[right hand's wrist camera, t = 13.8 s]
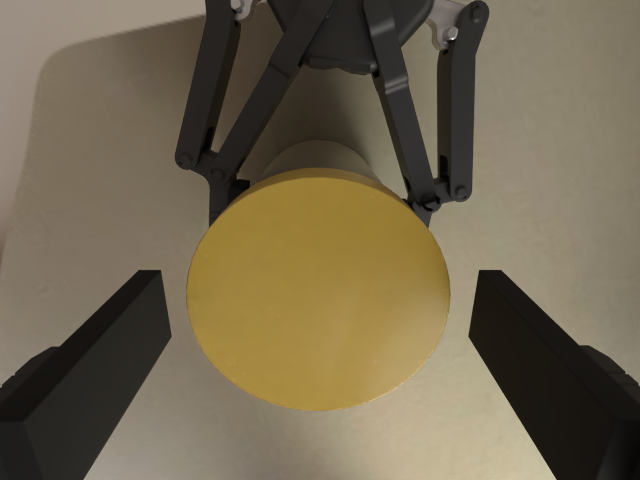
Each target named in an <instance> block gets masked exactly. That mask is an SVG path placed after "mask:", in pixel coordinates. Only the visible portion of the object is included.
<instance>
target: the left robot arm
mask: <svg viewBox="0 0 640 480" xmlns="http://www.w3.org/2000/svg"><path fill="white" fill-rule="evenodd" d="M259 1H261V0H205V3H206V15H207V20H206V24H205V28H204V32H203V37H202V41H201V45H200V50H199V54H198V58H197V62H196V67H195V71H194V75H193V80H192V84H191V88H190V92H189V97H188V101H187V105H186V109H185V114H184V118H183V122H182V127H181V131H180V135H179V139H178V144H177V148H176V152H175V161H176V164H177V165H178V166H179V167H180V168H182V169H186V170H189V169H190V170H192V171H194V172H196V173H198V174H200V175H202V176H204V177H205V178H206V179H207V181H208V183H209V185H210V204H209V211H210V212H209V227H210V226H211V225H212V224H213V223H214V222H215V220H216V219H217V218H218V217H219V216H220V215H221V213H222V212H223V211H224V210H225V209H226V208H227V207H228V205H229V204H230V203H231V202H232V201H233V200H234V199H236V198H237V197H238V196H239V195H240V194H241V193H243V192H244V191H245V190H247V189H249V188H250V180H242V179H237V180H236V178H237V173H238V172H239V169H240V168H241V166H242V164H243V163H244V161H245V159H246V158H247V156H248V154H249V153H250V151H251V149H252V148H253V146H254V144H255V143H256V141H257V139H258V138H259V136H260V134H261V133H262V131H263V129H264V128H265V126H266V124H267V123H268V121H269V119H270V118H271V116H272V114H273V113H274V111H275V109H276V108H277V106H278V104H279V103H280V101H281V99H282V98H283V96H284V94H285V92H286V91H287V89H288V87H289V86H290V84H291V83H292V81H293V80H294V78H295V77H296V75H297V74H298V72H299V70H300V69H301V67H302V65H303V64H305V65H307V66H309V67H310V68H313V69H321V70H325V69H332V68H340V69H342V70H345V71H347V72H349V73H351V74H359V75H366V74H369V73H371V75H372V78H373V82H374V85H375V88H376V90H377V92H378V94H379V98H380V101H381V104H382V108H383V111H384V115H385V118H386V122H387V125H388V128H389V132H390V135H391V139H392V142H393V145H394V149H395V152H396V156H397V159H398V163H399V166H400V169H401V173H402V176H403V180H404V183H405V187H406V190H407V193H408V198H407V200H406V199H402V198H401V199H402V200H403V201H404V202H405V203H406V204H407V205H408V206H409V207H410V208H411V209H412V210H413V211H414V212H415V214H416V215H417V216H418V217H419V218H420V219H421V221H422V222H423V223H424V224H425V226H426V227H427V228H428V227H429V222H430V218H431V214H432V213H434V212H436V211H438V209H439V208H440V207H441V204H443V203H447V202H451V201H456V202H463V201H466V200H467V199H468V198H469V197H470V195H471V193H472V169H473V130H474V91H475V55H476V52H477V49H478V46H479V43H480V41H481V38H482V35H483V32H484V29H485V26H486V23H487V20H488V17H489V8H488V6H487V5H486V3H485V2H483V1H479V0H476V1H474V2H471V3H470V4H468V5H463V4H459V3H456V2H453V1H449V0H267V2H268V4H269V6H270V8H271V9H272V11H273V13H274V15H275V17H276V19H277V21H278V23H279V25H280V27H281V29H282V31H283V32H284V35H283V37H282V39H281V40H280V42H279V44H278V46H277V48H276V49H275V51H274V53H273V55H272V56H271V59H270V61H269V64H268V66H267V68H266V70H265V72H264V73H263V75H262V77H261V79H260V81H259V82H258V84H257V86H256V88H255V89H254V91H253V93H252V95H251V96H250V98H249V100H248V102H247V103H246V105H245V107H244V109H243V110H242V112H241V114H240V116H239V117H238V119H237V121H236V123H235V124H234V126H233V128H232V130H231V131H230V133H229V135H228V137H227V138H226V140H225V142H224V144H223V145H222V147H221V149H220V151H219V152H218V153H216V152H214V151H212V150H211V146H212V142H213V139H214V135H215V131H216V127H217V123H218V120H219V116H220V112H221V108H222V105H223V101H224V97H225V93H226V89H227V86H228V82H229V78H230V74H231V70H232V67H233V63H234V59H235V55H236V52H237V48H238V43H239V39H240V31H241V23H246V22H248V21H249V20H250V19H251V18H252V16H253V11H254V7H255V5H256V4H257V3H258V2H259ZM424 22H425V23H427V24H428V25H429V26H430V27H431V29H432V44H433V46H434V47H435V48H436V49H437V50H439V51H440V52H439V57H438V64H437V150H438V178H434V179H433V177H432V173H431V169H430V165H429V162H428V158H427V154H426V150H425V147H424V143H423V139H422V135H421V131H420V128H419V124H418V120H417V116H416V113H415V109H414V105H413V101H412V98H411V94H410V90H409V86H408V74H407V70H406V66H405V62H404V58H403V55H402V51H401V47H402V46H403V45H404V44H405V43H406V42H407V40H408V39H409V38H410V37H411V36H412V35H413V34H414V33H415V32H416V30H417V29H418V28H419V27H420V26H421V25H422V24H423V23H424Z"/></svg>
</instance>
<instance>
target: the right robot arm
mask: <svg viewBox="0 0 640 480" xmlns="http://www.w3.org/2000/svg"><path fill="white" fill-rule="evenodd" d="M171 337H172V336H171V330H170V324H169V317H168V311H167V305H166V299H165V293H164V287H163V280H162V274H161V270H139V271H138V272H137V273H135V274H134V275H133V276H132V277H131V278H130V279H129V280H128V281H127V282H126V283H125V284H124V285H123V286H122V287H121V288H120V289H119V290H118V291H117V292H116V293H115V294H114V295H113V296H112V297H111V298H110V299H108V300H107V301H106V302H105V303H104V304H103V305H102V306H101V307H100V308H99V309H98V310H97V311H96V312H95V313H94V314H93V315H92V316H91V317H90V318H89V319H88V320H87V321H86V322H85V323H84V324H83V325H81V326H80V327H79V328H78V329H77V330H76V331H75V332H74V333H73V334H72V335H71V336H70V337H69V338H68V339H67V340H66V341H65V342H64V343H63V344H62V345H61V346H60V347H50V348H48V349H47V350H45V351H43V352H42V353H40V354H38V355H36V356H35V357H33V358H31V359H30V360H29V361H28V362H27V363H26V364H24V365H23V366H22V367H21V368H20V369H19V370H18V371H17V372H16V373H15V376H11V377H10V378H9V379H8V380H7V381H6V382H5V383H4V384H2V388H0V480H83V479H84V478H85V476H86V475H87V473H88V471H89V470H90V468H91V466H92V465H93V463H94V462H95V460H96V458H97V457H98V455H99V453H100V452H101V450H102V449H103V447H104V445H105V444H106V442H107V441H108V439H109V437H110V436H111V434H112V432H113V431H114V429H115V428H116V426H117V424H118V423H119V421H120V419H121V418H122V416H123V415H124V413H125V411H126V410H127V408H128V406H129V405H130V403H131V402H132V400H133V398H134V397H135V395H136V393H137V392H138V390H139V389H140V387H141V385H142V384H143V382H144V380H145V379H146V377H147V376H148V374H149V372H150V371H151V369H152V367H153V366H154V364H155V363H156V361H157V359H158V358H159V356H160V355H161V353H162V351H163V350H164V348H165V346H166V345H167V343H168V342H169V340H170V338H171ZM468 337H469V338H470V340H471V342H472V343H473V345H474V346H475V348H476V350H477V351H478V353H479V355H480V356H481V358H482V359H483V361H484V363H485V364H486V366H487V367H488V369H489V371H490V372H491V374H492V376H493V377H494V379H495V380H496V382H497V384H498V385H499V387H500V389H501V390H502V392H503V393H504V395H505V397H506V398H507V400H508V402H509V403H510V405H511V406H512V408H513V410H514V411H515V413H516V415H517V416H518V418H519V419H520V421H521V423H522V424H523V426H524V428H525V429H526V431H527V432H528V434H529V436H530V437H531V439H532V441H533V442H534V444H535V445H536V447H537V449H538V450H539V452H540V453H541V455H542V457H543V458H544V460H545V462H546V463H547V465H548V466H549V468H550V470H551V471H552V473H553V475H554V476H555V478H556V479H557V480H640V386H639V385H638V383H637V382H636V381H635V380H634V379H633V378H632V377H631V376H630V375H629V374H625V371H624V370H623V369H622V368H621V367H620V366H619V365H617V364H616V363H615V362H614V361H613V360H612V359H611V358H610V357H608V356H606V355H605V354H603V353H601V352H599V351H598V350H596V349H594V348H592V347H591V346H589V345H578V344H577V343H576V342H575V341H574V340H573V339H572V338H571V337H570V336H569V335H568V334H567V333H566V332H565V331H564V330H563V329H562V328H561V327H560V326H559V325H557V324H556V323H555V322H554V321H553V320H552V319H551V318H550V317H549V316H548V315H547V314H546V313H545V312H544V311H543V310H542V309H541V308H540V307H539V306H538V305H537V304H536V303H535V302H534V301H533V300H532V299H530V298H529V297H528V296H527V295H526V294H525V293H524V292H523V291H522V290H521V289H520V288H519V287H518V286H517V285H516V284H515V283H514V282H513V281H512V280H511V279H510V278H509V277H508V276H507V275H506V274H505V273H503V272H502V271H501V270H479V274H478V280H477V287H476V293H475V299H474V305H473V311H472V317H471V324H470V330H469V336H468Z"/></svg>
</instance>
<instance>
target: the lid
mask: <svg viewBox="0 0 640 480" xmlns="http://www.w3.org/2000/svg"><path fill="white" fill-rule="evenodd" d="M186 297H187V309H188V314H189V320H190V323H191V326H192V329H193V332H194V335H195V337H196V339H197V341H198V343H199V345H200V347H201V348H202V350H203V351H204V353H205V354H206V356H207V357H208V359H209V360H210V361H211V362H212V364H213V365H214V366H215V367H216V368H217V369H218V370H219V371H220V372H221V373H222V374H223V375H224V376H225V377H226V378H227V379H229V380H230V381H231V382H232V383H234V384H235V385H237V386H238V387H239V388H241V389H242V390H244V391H246V392H248V393H250V394H251V395H253V396H255V397H257V398H260V399H262V400H265V401H267V402H269V403H273V404H276V405H280V406H283V407H288V408H293V409H299V410H311V411H325V410H337V409H344V408H349V407H353V406H357V405H361V404H364V403H367V402H369V401H372V400H375V399H377V398H379V397H381V396H383V395H385V394H387V393H389V392H391V391H392V390H394V389H395V388H397V387H399V386H400V385H402V384H403V383H404V382H405V381H407V380H408V379H409V378H410V377H412V376H413V375H414V374H415V373H416V372H417V371H418V370H419V369H420V368H421V367H422V366H423V365H424V363H425V362H426V361H427V359H428V358H429V357H430V355H431V354H432V353H433V351H434V349H435V347H436V345H437V344H438V342H439V340H440V338H441V335H442V333H443V330H444V328H445V325H446V321H447V317H448V313H449V305H450V281H449V275H448V271H447V266H446V262H445V260H444V257H443V255H442V252H441V249H440V247H439V246H438V244H437V242H436V240H435V238H434V237H433V235H432V233H431V232H430V231H429V230H428V228H427V227H426V226H425V224H424V223H423V222H422V221H421V219H420V218H419V217H418V216H417V215H416V214H415V212H414V211H413V210H412V209H411V208H410V207H409V206H408V205H407V204H406V203H405V202H404V201H403V200H402V199H401V198H400V197H399V196H398V195H396V194H395V193H394V192H392V191H391V190H390V189H388V188H387V187H385V186H384V185H382V184H380V183H378V182H376V181H374V180H372V179H370V178H368V177H365V176H362V175H360V174H357V173H354V172H349V171H345V170H341V169H332V168H303V169H297V170H291V171H287V172H283V173H280V174H277V175H274V176H271V177H269V178H267V179H265V180H263V181H260V182H258V183H256V184H255V185H253V186H252V187H250V188H249V189H247V190H245V191H244V192H243V193H241V194H240V195H239V196H238V197H237V198H236V199H234V200H233V201H232V202H231V203H230V204H229V205H228V207H227V208H226V209H225V210H224V211H223V212H222V213H221V215H220V216H219V217H218V218H217V219H216V220H215V222H214V223H213V224H212V225H211V226H210V227H209V228H208V230H207V231H206V233H205V235H204V236H203V238H202V239H201V241H200V242H199V244H198V247H197V249H196V251H195V253H194V255H193V258H192V261H191V265H190V268H189V272H188V279H187V287H186Z"/></svg>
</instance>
